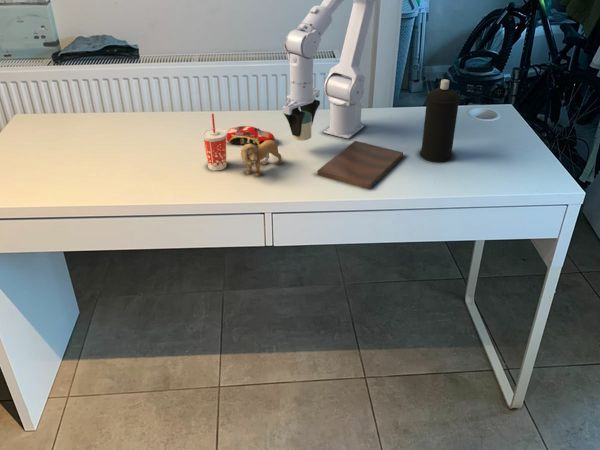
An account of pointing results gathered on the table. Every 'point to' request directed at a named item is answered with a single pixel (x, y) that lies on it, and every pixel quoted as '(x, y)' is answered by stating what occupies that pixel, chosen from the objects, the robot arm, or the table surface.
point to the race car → (248, 135)
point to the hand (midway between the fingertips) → (301, 131)
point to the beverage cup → (215, 147)
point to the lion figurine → (259, 154)
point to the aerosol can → (440, 123)
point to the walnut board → (361, 164)
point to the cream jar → (305, 127)
